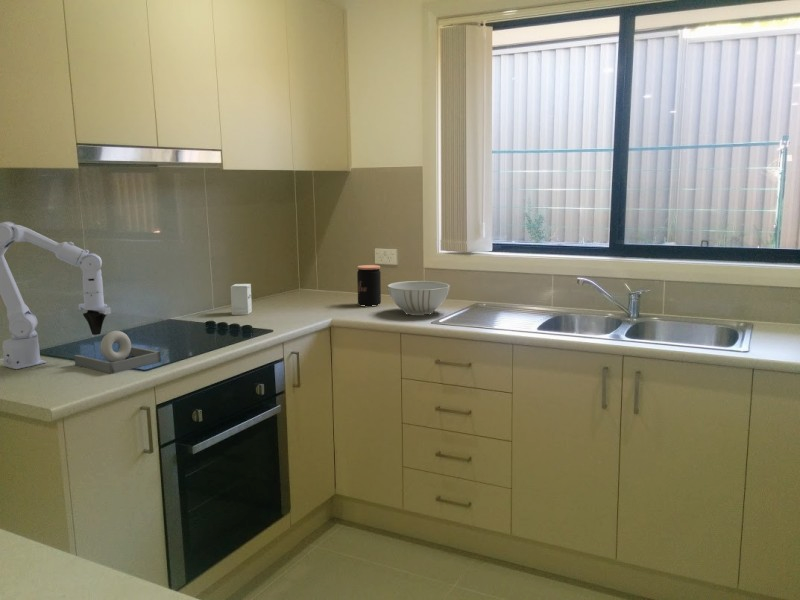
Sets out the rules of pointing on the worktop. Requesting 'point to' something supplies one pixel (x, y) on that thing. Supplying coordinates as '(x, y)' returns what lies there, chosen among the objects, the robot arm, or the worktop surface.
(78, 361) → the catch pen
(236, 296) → the supplement box
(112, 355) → the donut
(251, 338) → the worktop surface
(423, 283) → the decorative bowl
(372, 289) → the coffee jar
